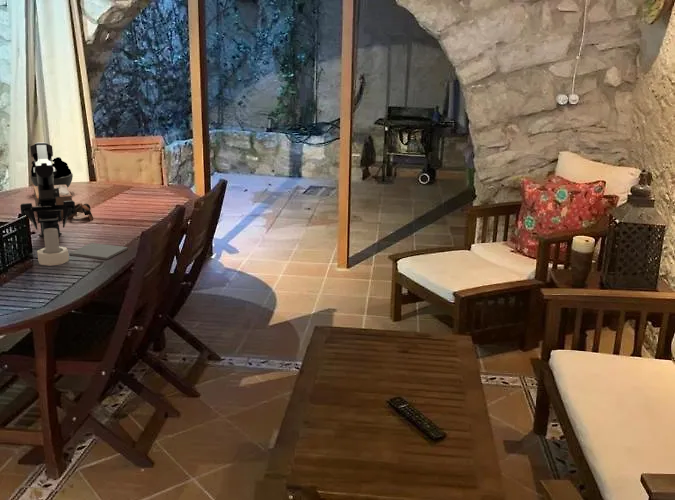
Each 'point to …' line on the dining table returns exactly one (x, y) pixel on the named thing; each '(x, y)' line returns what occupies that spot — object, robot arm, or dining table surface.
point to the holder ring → (53, 257)
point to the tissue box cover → (63, 194)
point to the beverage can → (51, 240)
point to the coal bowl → (62, 174)
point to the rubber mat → (98, 251)
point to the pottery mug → (82, 210)
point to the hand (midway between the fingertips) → (50, 228)
